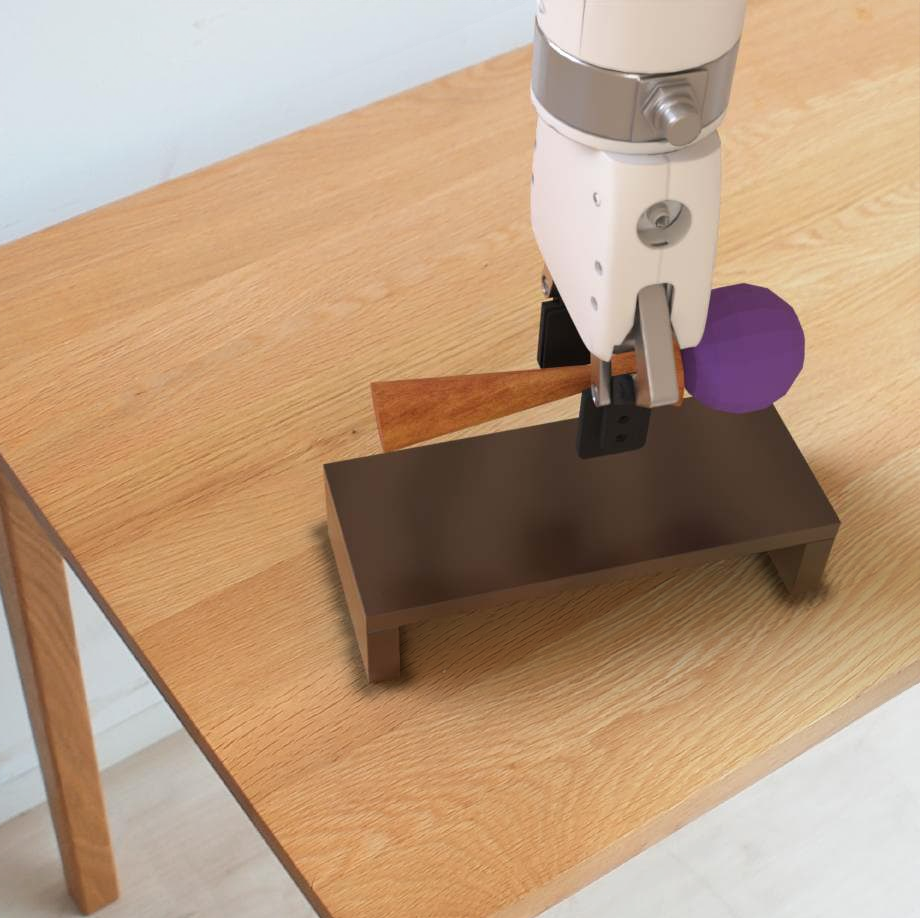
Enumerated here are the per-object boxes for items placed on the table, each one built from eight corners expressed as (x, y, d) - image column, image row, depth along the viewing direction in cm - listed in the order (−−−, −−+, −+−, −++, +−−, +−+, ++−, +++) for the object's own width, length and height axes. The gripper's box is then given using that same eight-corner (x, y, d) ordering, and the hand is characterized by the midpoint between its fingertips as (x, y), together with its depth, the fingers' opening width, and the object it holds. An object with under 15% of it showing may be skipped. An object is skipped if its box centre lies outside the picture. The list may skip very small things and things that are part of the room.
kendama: (359, 328, 66) (779, 249, 67) (376, 432, 70) (774, 356, 71) (378, 400, 62) (829, 314, 63) (395, 508, 65) (820, 424, 67)
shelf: (742, 458, 82) (761, 383, 77) (816, 595, 76) (841, 521, 71) (328, 538, 78) (322, 463, 74) (369, 689, 72) (365, 617, 67)
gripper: (821, 183, 49) (733, 526, 63) (649, -61, 60) (605, 277, 74) (612, 217, 48) (568, 559, 62) (474, -39, 59) (463, 300, 72)
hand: (589, 402), depth 67 cm, fingers closed on kendama, 5 cm apart
